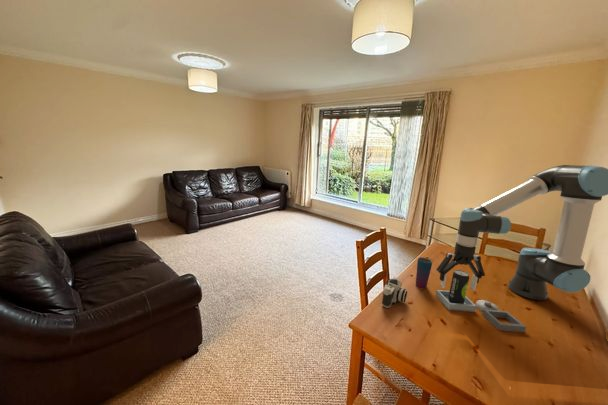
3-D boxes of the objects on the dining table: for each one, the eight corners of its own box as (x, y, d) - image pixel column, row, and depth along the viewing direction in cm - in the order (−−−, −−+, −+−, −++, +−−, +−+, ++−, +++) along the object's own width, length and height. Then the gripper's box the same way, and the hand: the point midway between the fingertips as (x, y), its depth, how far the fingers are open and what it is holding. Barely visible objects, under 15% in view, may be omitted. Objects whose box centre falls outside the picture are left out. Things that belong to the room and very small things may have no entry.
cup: (429, 291, 123) (434, 263, 121) (415, 289, 125) (419, 261, 122) (425, 285, 130) (430, 258, 127) (412, 282, 131) (416, 256, 128)
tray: (459, 297, 120) (460, 291, 119) (475, 312, 108) (476, 306, 108) (435, 295, 120) (436, 289, 120) (448, 310, 109) (449, 303, 108)
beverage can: (444, 300, 115) (450, 270, 113) (453, 297, 118) (459, 268, 115) (457, 307, 110) (463, 276, 107) (466, 305, 112) (473, 275, 109)
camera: (399, 313, 105) (402, 291, 103) (379, 305, 110) (381, 284, 108) (407, 297, 118) (410, 277, 116) (389, 290, 122) (392, 271, 121)
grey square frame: (491, 304, 115) (493, 298, 115) (524, 332, 97) (526, 325, 96) (469, 302, 116) (471, 296, 115) (498, 330, 97) (500, 323, 97)
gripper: (488, 243, 112) (479, 286, 116) (433, 239, 113) (426, 281, 117) (500, 249, 105) (490, 294, 109) (441, 245, 106) (433, 290, 110)
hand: (457, 288), depth 113 cm, fingers open, 13 cm apart
